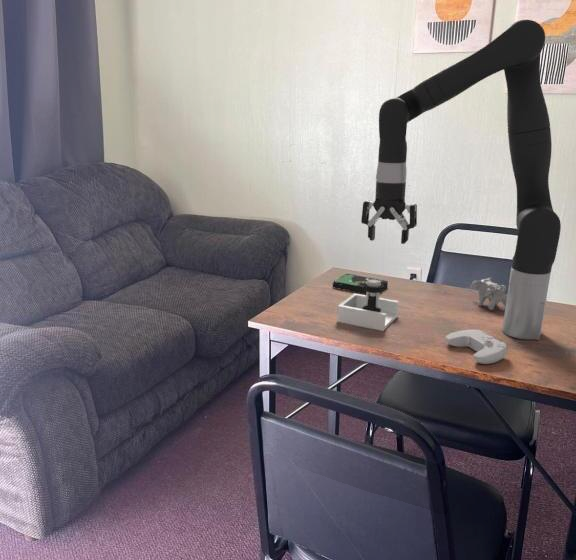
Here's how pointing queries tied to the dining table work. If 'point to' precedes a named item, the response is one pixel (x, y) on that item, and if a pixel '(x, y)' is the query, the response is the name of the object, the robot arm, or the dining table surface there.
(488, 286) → the elephant statuette
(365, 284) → the push button
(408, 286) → the dining table surface
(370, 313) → the box
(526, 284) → the robot arm
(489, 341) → the game controller
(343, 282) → the disk drive
